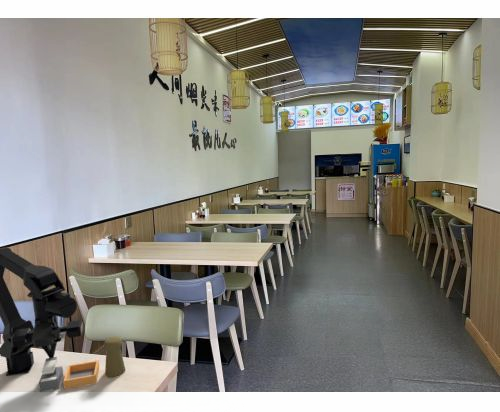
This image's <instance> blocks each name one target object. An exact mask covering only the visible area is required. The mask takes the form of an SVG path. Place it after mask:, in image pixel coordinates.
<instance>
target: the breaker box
mask: <svg viewBox="0 0 500 412" xmlns="http://www.w3.org/2000/svg"><path fill="white" fill-rule="evenodd" d="M63 377H64V369H63V366H55V370H54V373H49V374H43V375H42V374H41V376H40V378H39V381H38V386H39V392H41V393H42V392H45V391H51V390H57V389H60V387H61V383H62V380H63Z"/></svg>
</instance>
